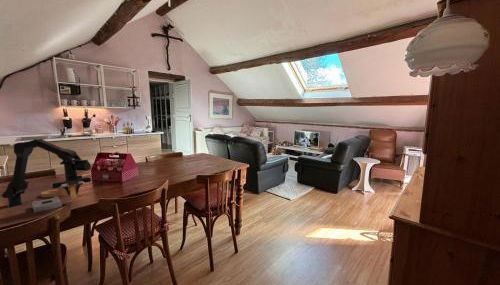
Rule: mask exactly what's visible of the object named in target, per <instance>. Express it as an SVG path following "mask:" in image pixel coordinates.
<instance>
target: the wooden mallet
mask: <svg viewBox="0 0 500 285" xmlns="http://www.w3.org/2000/svg"><path fill="white" fill-rule="evenodd" d="M67 186H70V185H68V184H67ZM68 189H69V188H68ZM67 195H68V193H67V192H66V190H65V189H64V188H61V186H60V187H59V188H56V189H49V190H45V191H42V192H41V193H40V196H41V198H42V199H43V198H45V199H46V198H55V197H59V198H60V197H66V196H67ZM68 196H69V195H68ZM68 196H67V197H68Z"/></svg>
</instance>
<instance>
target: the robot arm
mask: <svg viewBox="0 0 500 285" xmlns="http://www.w3.org/2000/svg"><path fill="white" fill-rule="evenodd" d="M37 147H38V148H41V149H42V150H45V151H47V152H50V153H51V154H54V155H56V156H57V157H58V158H59V159H60V160H61V161H60V163H59V165H63V168H64V179H65V181H60V180H56V181H52V182H51V183H50V186H51V189H57V188H59V187H60V186H61V188H64V189H65V190H66V192H67V193H68V197H70V193H69V189H68V186H67V184H68V185H70V186H71V185H76V196H77V195H78V193H79V190H80V187H81V186H82V185H83V184H84V183H85V184H86V183H91V182H92V179H91V177H89V176H88V175H87V176H83V175H78V174H77V172H78V171H79V172H81V171H82V172H84V171H85V172H86V171H87V172H88V171H89V170H90V169H91V164H90V163H91V162H90V161H89V160H88V159H82V158H81V157H80V156H79V155H78V153H77V151H75V150H73V149H69V148H68V149H67V148H63V147H60V146H59V145H58V146H57V145H56V144H54V143H51V142H49V141H46V140H45V139H42V138H34V139H33V140H29V141H28V140H27V141H23V142H16V143H15V144H14V145H13V153H14V154H15V156H16V158H15V164H14V170H13V175H12V179H11V180H10V182H9V183H8V184H7V187H6V189H5V191H4V192H2V194H1V196H2V198H3V199H7V208H13V207H17V206H22V205H24V202H23V200H22V194H25V192H26V190H27V189H28V188H29V181H26V179H25V177H26V172H27V171H26V170H27V165H28V159H29V157H30V155H31V154H32V153H33V151H34V149H35V148H37Z"/></svg>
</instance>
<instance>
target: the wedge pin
mask: <svg viewBox="0 0 500 285" xmlns="http://www.w3.org/2000/svg"><path fill="white" fill-rule="evenodd" d="M68 188H69V193H70V196H69V199H70V200H75V199H77V195H76V184H75V185H71V186H68Z"/></svg>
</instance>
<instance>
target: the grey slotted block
mask: <svg viewBox="0 0 500 285" xmlns="http://www.w3.org/2000/svg"><path fill="white" fill-rule="evenodd" d="M62 207H63V203H62V200H61V199H60V197H50V198H45V199H42V200H34V201H32V209H33V213H34V214H37V213H40V212H44V211H49V210H50V211H51V210H53V209H57V208H58V209H59V208H62Z"/></svg>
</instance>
